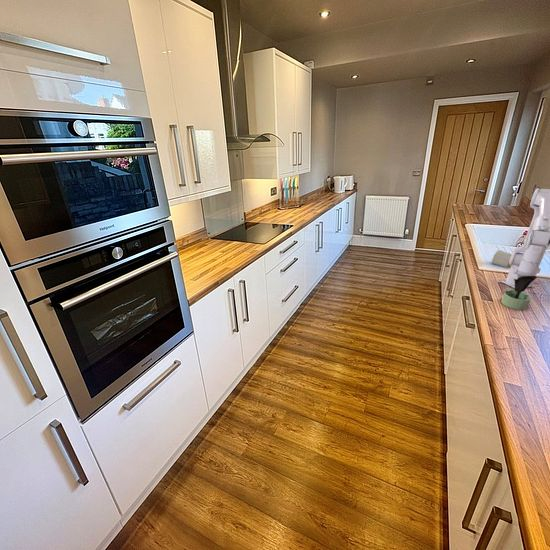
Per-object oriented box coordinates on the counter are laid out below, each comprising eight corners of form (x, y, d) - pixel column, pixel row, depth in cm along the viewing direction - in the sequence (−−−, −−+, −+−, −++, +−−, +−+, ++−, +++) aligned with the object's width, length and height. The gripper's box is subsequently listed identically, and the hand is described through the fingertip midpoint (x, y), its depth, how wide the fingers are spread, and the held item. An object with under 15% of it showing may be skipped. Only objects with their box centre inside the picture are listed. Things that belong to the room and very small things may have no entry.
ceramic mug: (507, 269, 152) (512, 256, 149) (490, 264, 158) (494, 251, 155) (514, 264, 158) (519, 251, 155) (497, 260, 164) (502, 247, 161)
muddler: (510, 299, 122) (518, 279, 118) (514, 298, 122) (521, 278, 118) (516, 302, 120) (524, 282, 116) (519, 301, 121) (527, 281, 116)
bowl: (512, 297, 127) (515, 288, 125) (532, 308, 119) (536, 298, 117) (495, 300, 125) (499, 291, 123) (515, 311, 117) (519, 301, 115)
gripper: (531, 254, 119) (519, 283, 125) (508, 260, 114) (497, 290, 120) (551, 260, 113) (538, 290, 119) (528, 266, 108) (515, 298, 114)
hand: (519, 291), depth 119 cm, fingers closed on muddler, 1 cm apart
